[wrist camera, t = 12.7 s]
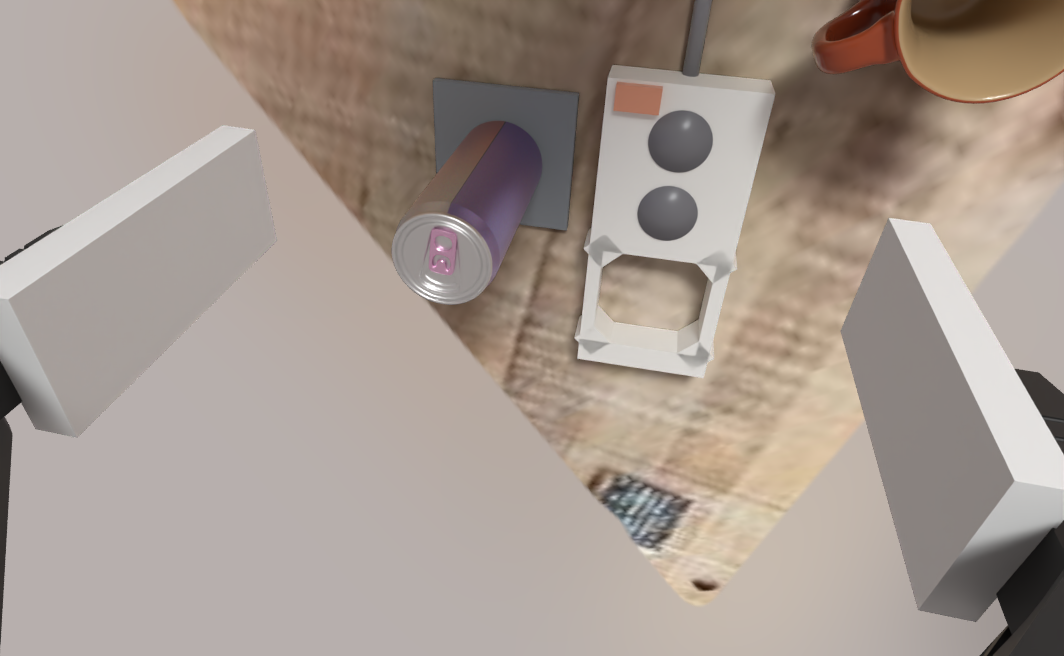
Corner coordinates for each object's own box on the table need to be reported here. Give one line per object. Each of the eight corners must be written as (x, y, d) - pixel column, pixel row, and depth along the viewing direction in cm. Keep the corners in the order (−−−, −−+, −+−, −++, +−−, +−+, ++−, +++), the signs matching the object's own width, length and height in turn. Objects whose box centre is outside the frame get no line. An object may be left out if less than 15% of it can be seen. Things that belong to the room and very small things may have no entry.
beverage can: (550, 127, 46) (501, 225, 34) (537, 205, 50) (487, 318, 38) (466, 108, 47) (389, 199, 35) (459, 187, 50) (386, 294, 38)
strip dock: (621, -80, 39) (615, -74, 36) (814, -66, 38) (824, -59, 35) (577, 336, 57) (571, 362, 54) (708, 355, 55) (708, 383, 52)
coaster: (435, 77, 47) (432, 80, 46) (579, 92, 45) (577, 95, 45) (440, 210, 52) (437, 213, 52) (567, 226, 51) (566, 230, 51)
